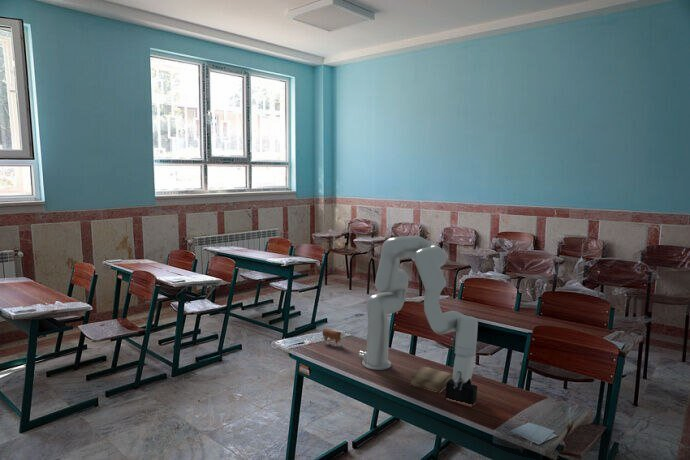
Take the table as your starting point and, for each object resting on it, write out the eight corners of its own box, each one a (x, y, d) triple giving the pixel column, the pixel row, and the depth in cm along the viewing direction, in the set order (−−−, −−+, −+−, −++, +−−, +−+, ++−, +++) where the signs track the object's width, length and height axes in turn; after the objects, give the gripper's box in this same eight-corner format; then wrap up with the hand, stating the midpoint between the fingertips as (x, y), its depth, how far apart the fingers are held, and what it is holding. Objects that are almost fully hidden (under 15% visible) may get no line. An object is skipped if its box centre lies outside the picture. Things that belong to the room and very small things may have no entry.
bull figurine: (343, 349, 231) (344, 332, 230) (320, 343, 238) (321, 326, 237) (348, 347, 234) (349, 330, 233) (325, 341, 241) (326, 324, 241)
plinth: (409, 385, 194) (410, 375, 194) (422, 374, 205) (423, 365, 204) (440, 393, 187) (440, 383, 187) (451, 382, 198) (452, 373, 198)
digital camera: (477, 402, 181) (478, 384, 181) (472, 408, 177) (474, 389, 176) (450, 394, 187) (451, 377, 186) (445, 399, 183) (446, 382, 182)
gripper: (463, 341, 189) (460, 384, 191) (447, 354, 175) (444, 400, 177) (482, 346, 186) (479, 389, 187) (467, 359, 171) (464, 406, 173)
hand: (462, 394), depth 182 cm, fingers open, 9 cm apart
